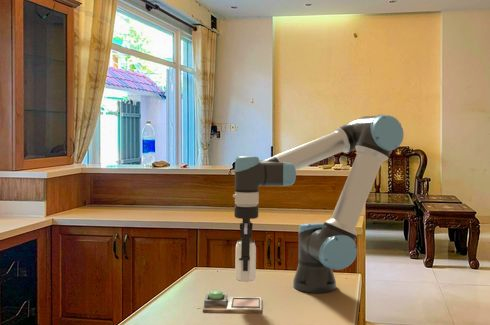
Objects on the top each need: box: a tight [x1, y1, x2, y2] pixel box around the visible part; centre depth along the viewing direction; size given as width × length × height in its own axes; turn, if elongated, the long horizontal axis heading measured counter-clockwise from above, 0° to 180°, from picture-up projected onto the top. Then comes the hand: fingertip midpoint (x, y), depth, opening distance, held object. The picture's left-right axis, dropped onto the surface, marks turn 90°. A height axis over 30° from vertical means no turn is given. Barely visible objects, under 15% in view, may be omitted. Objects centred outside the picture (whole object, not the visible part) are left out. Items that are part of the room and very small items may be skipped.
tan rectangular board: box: [202, 293, 263, 314], centre depth 162 cm, size 18×13×3 cm
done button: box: [208, 290, 224, 300], centre depth 162 cm, size 4×4×2 cm
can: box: [234, 239, 257, 283], centre depth 161 cm, size 6×6×12 cm
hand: (245, 277), depth 161 cm, fingers closed on can, 6 cm apart
